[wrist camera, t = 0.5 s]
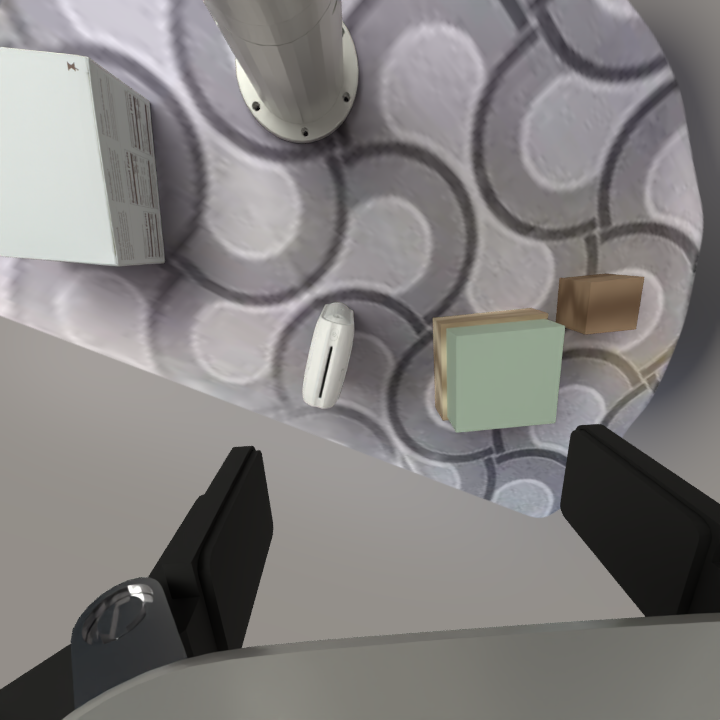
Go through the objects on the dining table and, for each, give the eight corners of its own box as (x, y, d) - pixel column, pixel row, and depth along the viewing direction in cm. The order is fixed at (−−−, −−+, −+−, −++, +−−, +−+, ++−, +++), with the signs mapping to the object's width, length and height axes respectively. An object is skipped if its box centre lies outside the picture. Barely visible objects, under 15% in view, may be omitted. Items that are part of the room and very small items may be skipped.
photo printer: (324, 297, 43) (315, 315, 31) (356, 305, 44) (359, 326, 32) (308, 371, 46) (294, 412, 34) (339, 378, 47) (335, 421, 35)
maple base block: (431, 317, 45) (440, 324, 41) (529, 307, 45) (548, 313, 41) (434, 405, 49) (442, 420, 45) (523, 396, 49) (540, 410, 45)
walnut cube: (559, 278, 43) (591, 282, 38) (605, 273, 43) (644, 277, 38) (555, 323, 45) (585, 334, 40) (599, 319, 45) (636, 329, 40)
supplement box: (23, 87, 36) (-86, 33, 27) (152, 101, 36) (88, 52, 27) (54, 255, 41) (-28, 256, 32) (167, 264, 41) (117, 267, 33)
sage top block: (446, 328, 41) (456, 336, 37) (544, 318, 41) (565, 325, 37) (447, 417, 44) (456, 432, 41) (537, 408, 44) (555, 423, 41)
